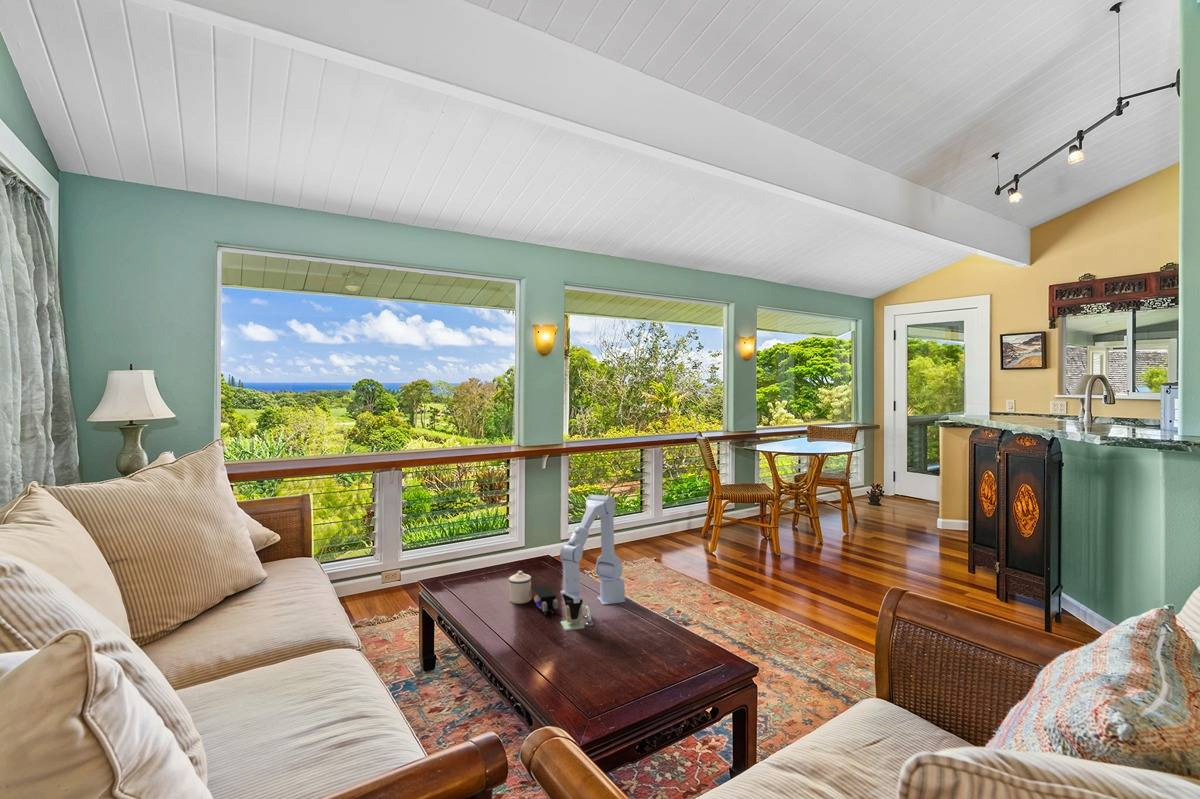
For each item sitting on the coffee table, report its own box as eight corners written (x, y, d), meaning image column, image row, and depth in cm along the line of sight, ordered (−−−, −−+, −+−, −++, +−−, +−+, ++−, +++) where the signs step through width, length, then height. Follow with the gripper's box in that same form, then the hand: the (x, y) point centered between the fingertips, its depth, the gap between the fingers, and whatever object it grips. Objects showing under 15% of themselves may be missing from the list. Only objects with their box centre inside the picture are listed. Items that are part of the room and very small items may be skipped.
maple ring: (579, 615, 201) (579, 602, 201) (583, 621, 196) (583, 607, 196) (564, 617, 199) (564, 604, 199) (568, 623, 194) (568, 609, 194)
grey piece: (587, 609, 212) (586, 599, 212) (598, 624, 198) (598, 614, 198) (566, 611, 210) (566, 601, 210) (576, 628, 195) (576, 617, 195)
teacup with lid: (534, 601, 220) (534, 572, 220) (512, 605, 217) (512, 576, 216) (525, 592, 231) (525, 564, 231) (504, 595, 227) (504, 567, 227)
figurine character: (559, 618, 208) (546, 600, 221) (560, 599, 207) (546, 582, 220) (543, 621, 205) (530, 603, 218) (543, 602, 204) (530, 585, 218)
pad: (579, 620, 202) (579, 618, 202) (584, 628, 195) (584, 626, 195) (560, 623, 200) (560, 621, 200) (565, 630, 193) (565, 629, 193)
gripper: (556, 573, 203) (556, 609, 203) (565, 586, 189) (566, 625, 189) (574, 571, 205) (575, 607, 205) (585, 583, 191) (585, 622, 191)
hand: (572, 615), depth 197 cm, fingers closed on maple ring, 5 cm apart
